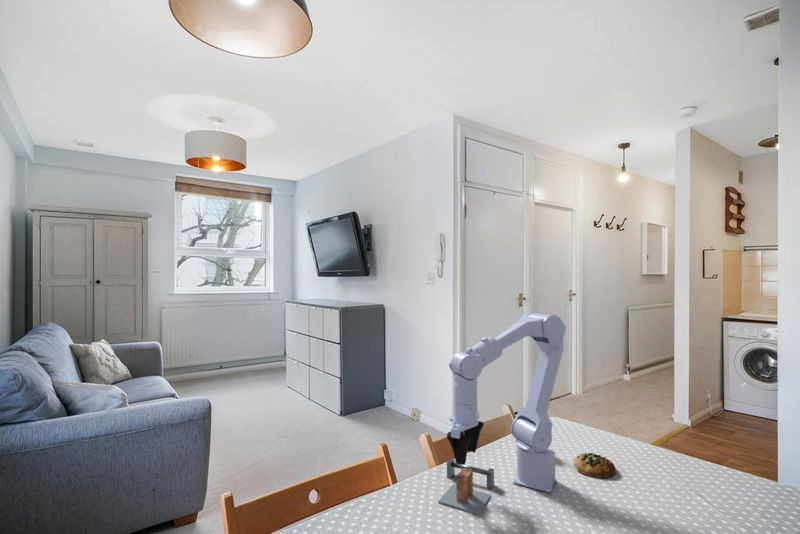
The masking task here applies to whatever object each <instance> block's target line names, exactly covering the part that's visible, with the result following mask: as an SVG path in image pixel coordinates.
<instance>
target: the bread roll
mask: <svg viewBox="0 0 800 534" xmlns="http://www.w3.org/2000/svg"><path fill="white" fill-rule="evenodd" d="M573 466H574V467H575V469H576V470H578V472H579V473H580V472H581V474H582V473H583V474H582V475H584V474H585V476H587V475H589V476H588V477H591V476H593V477H592V478H599V477H600V479H605V477H606V478H610V477H611V478H612V477H614V476H615V474H616V471H617V469H616V466H615V464H614V463H613V462H612V461H611V460H610V459H608V458H607V457H606V456H601V455H600V454H597V453H592V452H588V453H585V452H584V453H583V452H582V453H580V454H577V455H576V456H575V458H573ZM602 477H603V478H602Z"/></svg>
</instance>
